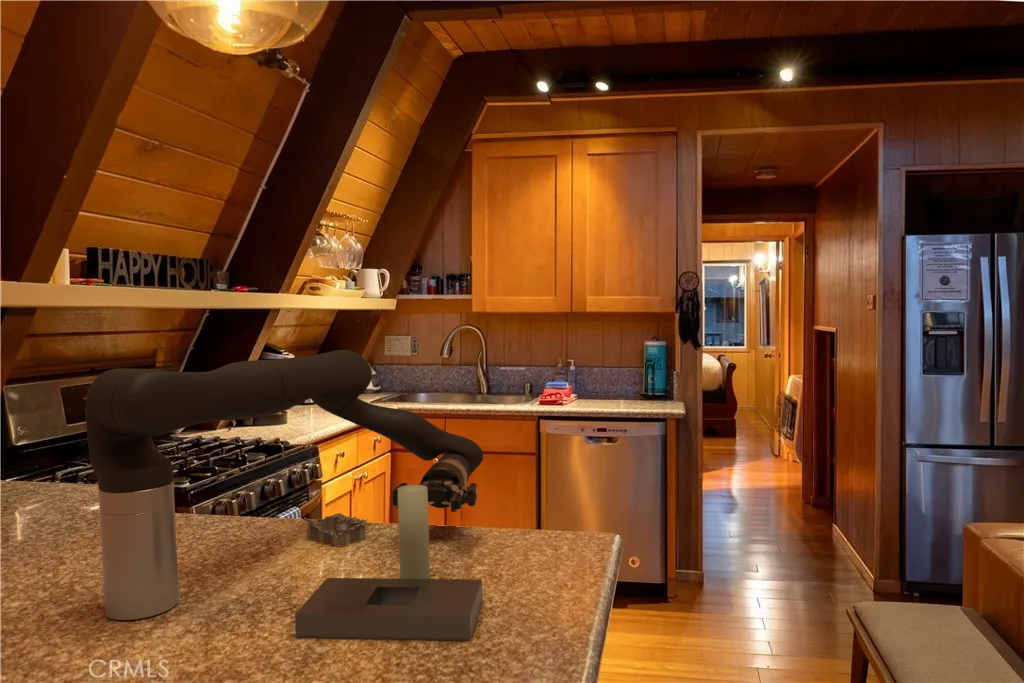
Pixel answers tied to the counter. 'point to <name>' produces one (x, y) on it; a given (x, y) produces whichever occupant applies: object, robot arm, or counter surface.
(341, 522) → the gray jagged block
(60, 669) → the counter surface
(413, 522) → the peg
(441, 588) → the brown block with hole
